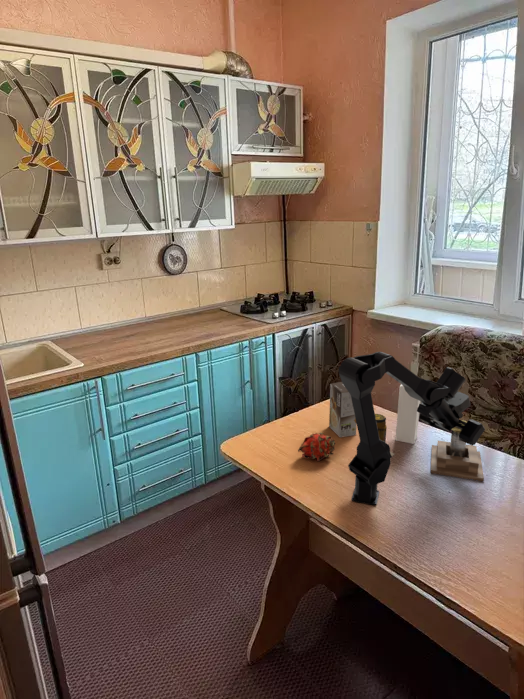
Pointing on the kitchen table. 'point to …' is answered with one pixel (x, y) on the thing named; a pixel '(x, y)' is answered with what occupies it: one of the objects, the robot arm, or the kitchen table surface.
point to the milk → (407, 417)
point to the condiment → (382, 428)
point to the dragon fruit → (317, 446)
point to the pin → (457, 443)
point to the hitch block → (456, 462)
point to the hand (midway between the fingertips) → (462, 436)
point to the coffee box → (341, 411)
